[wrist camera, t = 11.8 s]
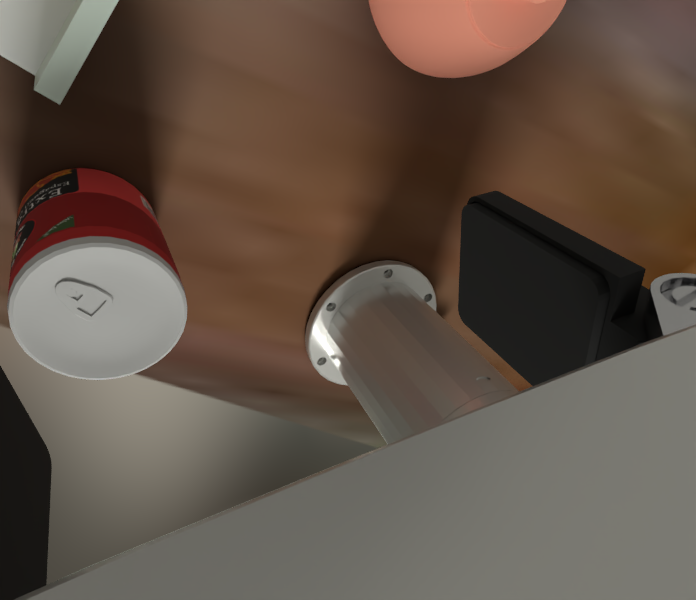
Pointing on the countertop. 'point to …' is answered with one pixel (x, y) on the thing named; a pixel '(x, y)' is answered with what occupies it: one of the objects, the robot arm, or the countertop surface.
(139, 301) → the canned food
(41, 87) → the arena
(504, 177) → the countertop surface
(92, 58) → the countertop surface
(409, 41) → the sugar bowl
